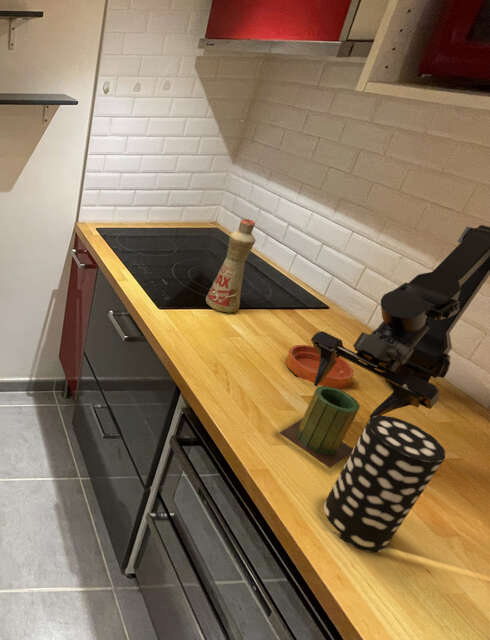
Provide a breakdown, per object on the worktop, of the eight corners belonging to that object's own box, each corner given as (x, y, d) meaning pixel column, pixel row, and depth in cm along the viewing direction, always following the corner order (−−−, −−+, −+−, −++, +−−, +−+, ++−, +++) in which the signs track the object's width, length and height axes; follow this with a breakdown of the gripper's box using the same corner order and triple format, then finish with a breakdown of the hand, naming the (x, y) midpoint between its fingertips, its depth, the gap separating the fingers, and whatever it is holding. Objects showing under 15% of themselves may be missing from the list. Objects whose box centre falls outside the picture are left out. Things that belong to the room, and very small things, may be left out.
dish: (278, 351, 114) (282, 340, 112) (335, 362, 110) (340, 351, 109) (294, 383, 103) (299, 371, 102) (357, 396, 100) (363, 384, 98)
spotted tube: (399, 543, 70) (460, 454, 62) (362, 559, 68) (420, 468, 60) (344, 496, 78) (393, 410, 69) (309, 509, 75) (354, 421, 67)
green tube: (292, 424, 91) (310, 382, 86) (329, 433, 89) (350, 391, 84) (302, 449, 85) (323, 406, 81) (342, 459, 83) (366, 415, 79)
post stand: (302, 420, 93) (312, 399, 91) (353, 453, 86) (365, 430, 83) (277, 436, 89) (287, 413, 87) (328, 471, 82) (340, 448, 80)
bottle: (245, 314, 129) (275, 225, 117) (213, 314, 129) (240, 225, 118) (229, 298, 137) (255, 214, 125) (199, 298, 137) (223, 213, 125)
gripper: (333, 296, 88) (282, 356, 87) (463, 350, 72) (402, 424, 72) (339, 319, 94) (292, 376, 94) (460, 374, 79) (404, 441, 79)
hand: (341, 401), depth 85 cm, fingers open, 9 cm apart
